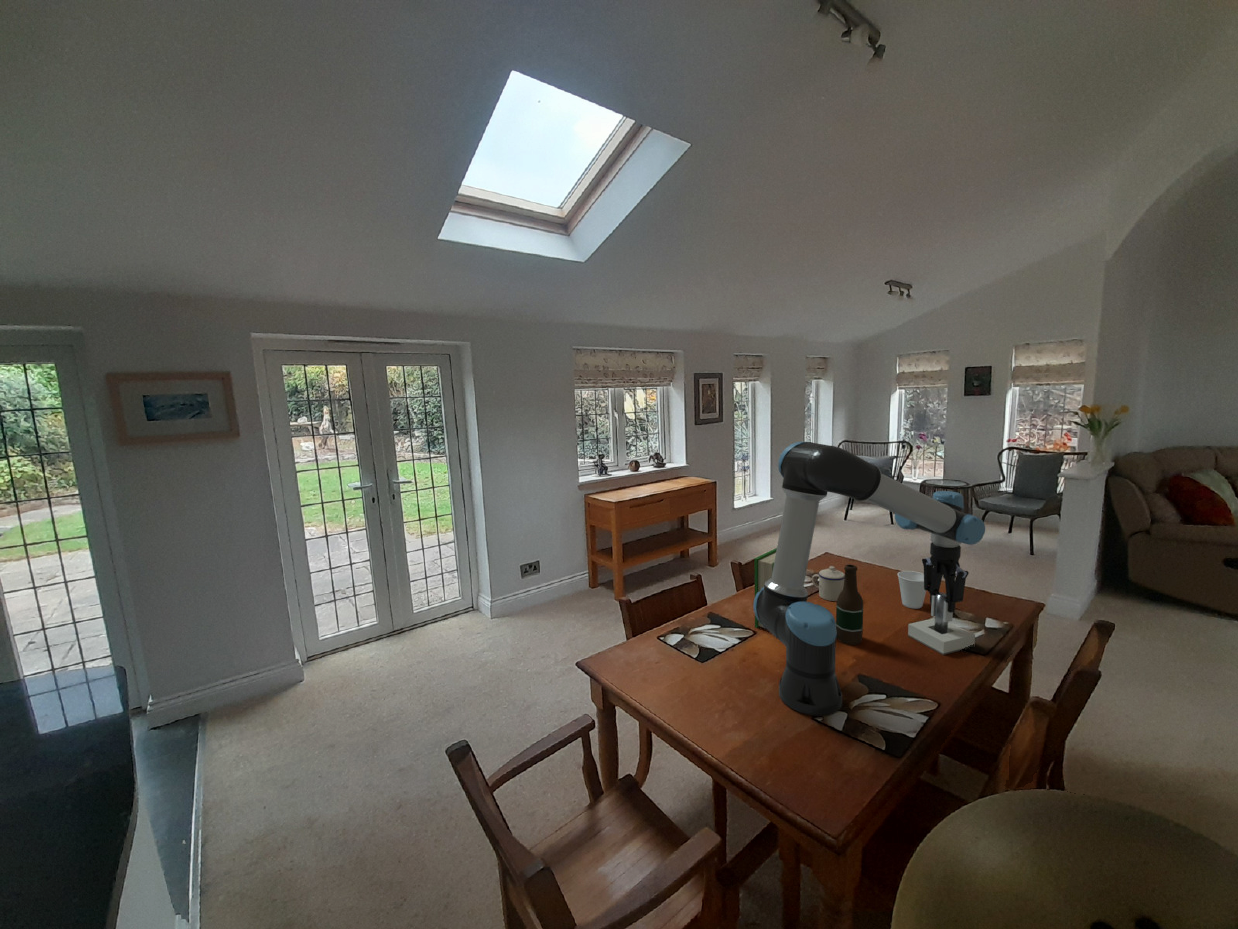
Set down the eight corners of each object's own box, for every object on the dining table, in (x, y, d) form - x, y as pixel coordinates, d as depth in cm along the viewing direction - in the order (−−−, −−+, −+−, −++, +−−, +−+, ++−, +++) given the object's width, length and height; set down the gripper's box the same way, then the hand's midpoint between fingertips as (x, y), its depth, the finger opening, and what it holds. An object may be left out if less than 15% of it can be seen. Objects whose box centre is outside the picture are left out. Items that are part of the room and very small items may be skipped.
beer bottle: (866, 646, 149) (868, 570, 145) (838, 644, 150) (840, 570, 147) (858, 633, 156) (861, 561, 153) (832, 632, 158) (834, 561, 154)
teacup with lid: (848, 596, 184) (849, 566, 182) (838, 604, 178) (839, 573, 176) (817, 587, 193) (817, 559, 191) (806, 595, 187) (807, 565, 185)
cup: (928, 602, 176) (930, 573, 174) (928, 613, 167) (930, 583, 166) (897, 597, 181) (898, 569, 179) (895, 608, 173) (896, 578, 171)
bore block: (943, 655, 142) (943, 642, 142) (908, 636, 154) (908, 624, 153) (974, 647, 146) (975, 634, 145) (937, 629, 157) (938, 617, 156)
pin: (941, 635, 147) (943, 597, 145) (931, 630, 150) (933, 593, 149) (950, 633, 148) (952, 596, 146) (940, 628, 151) (942, 591, 150)
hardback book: (775, 634, 158) (775, 563, 155) (754, 627, 164) (754, 558, 160) (801, 616, 170) (802, 549, 166) (781, 610, 175) (782, 545, 172)
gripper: (982, 550, 138) (977, 628, 142) (930, 534, 154) (927, 605, 157) (962, 553, 136) (957, 632, 140) (911, 537, 152) (908, 609, 155)
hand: (941, 618), depth 149 cm, fingers closed on pin, 3 cm apart
